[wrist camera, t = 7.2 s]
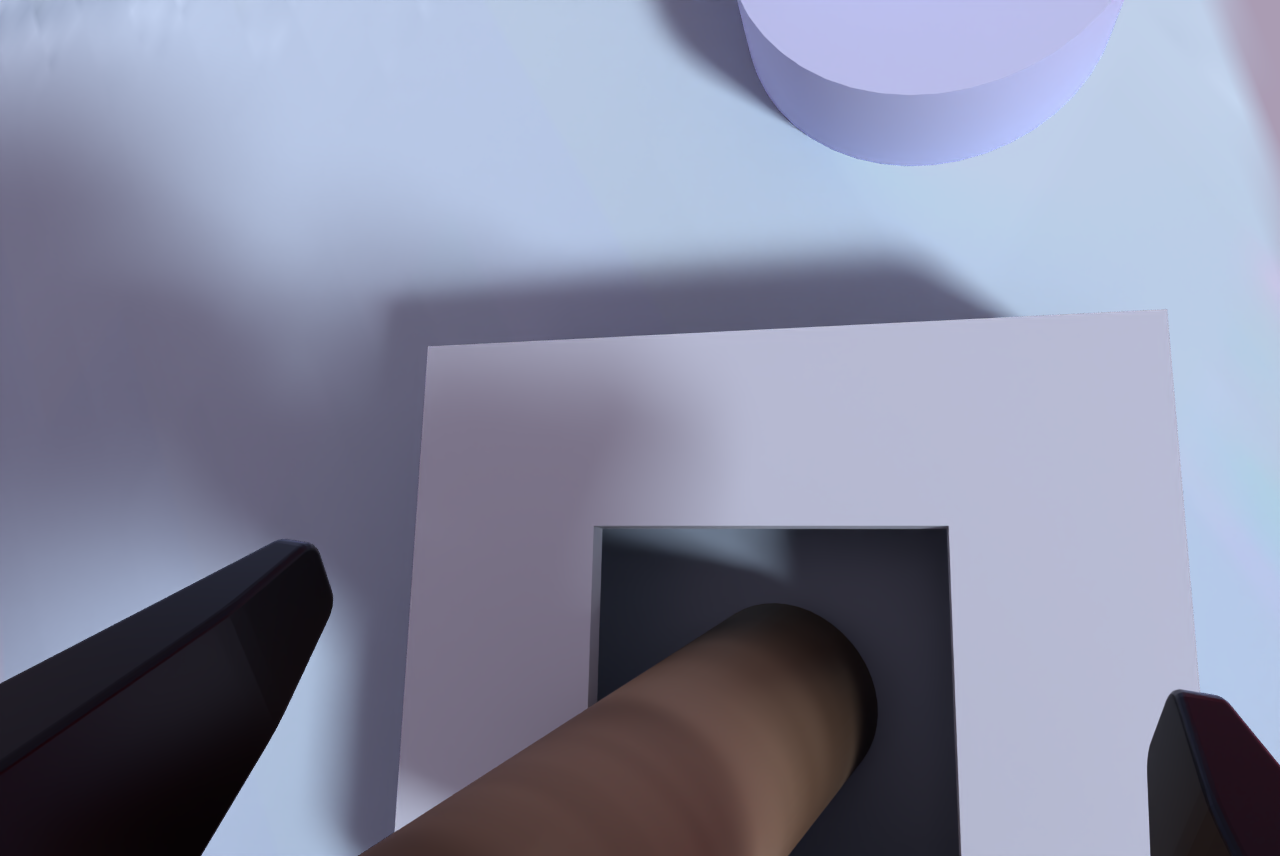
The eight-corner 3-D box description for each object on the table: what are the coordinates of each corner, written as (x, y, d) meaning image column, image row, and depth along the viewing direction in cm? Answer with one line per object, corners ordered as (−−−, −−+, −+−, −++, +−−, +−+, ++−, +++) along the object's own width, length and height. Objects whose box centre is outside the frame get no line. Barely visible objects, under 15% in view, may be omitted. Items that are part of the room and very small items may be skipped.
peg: (831, 823, 20) (439, 1351, 10) (678, 717, 22) (208, 1076, 12) (909, 669, 19) (552, 1093, 9) (740, 568, 21) (276, 826, 11)
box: (1155, 1077, 19) (1246, 1232, 14) (486, 992, 22) (376, 1092, 17) (1105, 378, 21) (1167, 309, 17) (515, 399, 25) (427, 346, 20)
